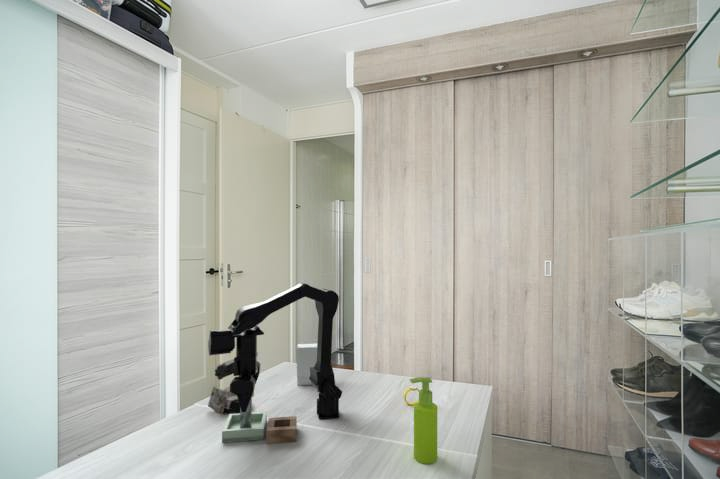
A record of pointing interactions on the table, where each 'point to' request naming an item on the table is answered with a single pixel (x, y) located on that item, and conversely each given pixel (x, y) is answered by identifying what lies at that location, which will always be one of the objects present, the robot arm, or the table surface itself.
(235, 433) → the tray
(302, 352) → the skincare box
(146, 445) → the table surface
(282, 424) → the socket block
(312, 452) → the table surface
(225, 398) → the caster wheel
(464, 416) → the table surface
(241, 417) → the pin
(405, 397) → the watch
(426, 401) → the soap dispenser
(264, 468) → the table surface
